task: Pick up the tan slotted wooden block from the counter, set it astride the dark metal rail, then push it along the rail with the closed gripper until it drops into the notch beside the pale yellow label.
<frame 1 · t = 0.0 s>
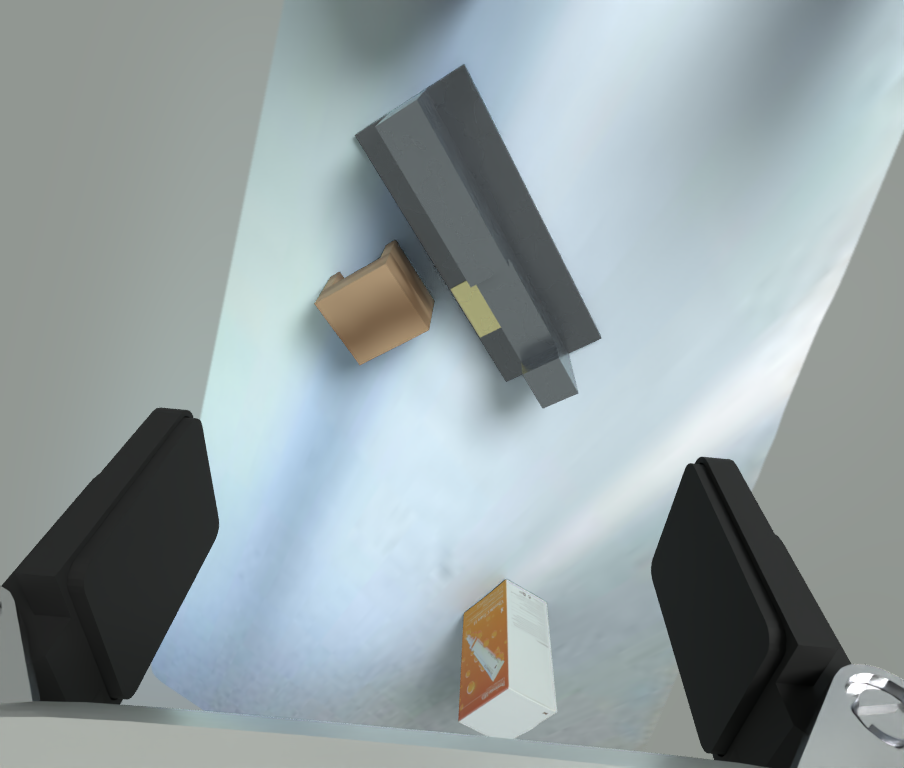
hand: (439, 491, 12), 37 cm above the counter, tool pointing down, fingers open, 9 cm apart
small box: (504, 605, 70), on the counter
notched rail: (489, 245, 47), on the counter
tan slotted wooden block: (382, 288, 50), on the counter
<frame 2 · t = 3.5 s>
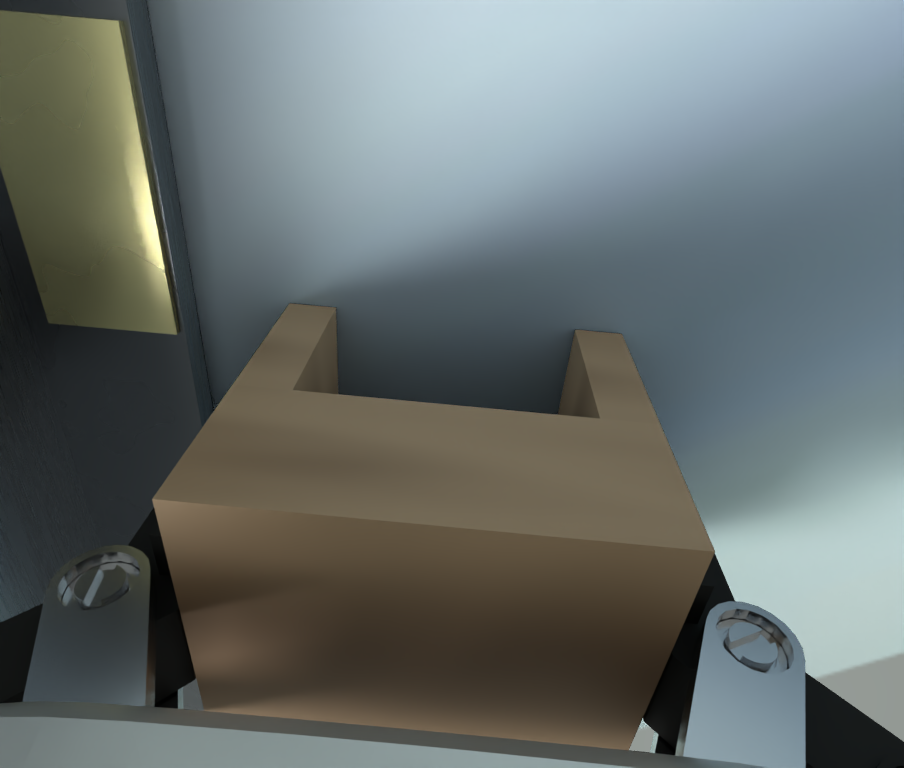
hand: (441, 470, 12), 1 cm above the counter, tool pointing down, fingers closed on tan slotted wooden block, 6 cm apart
tan slotted wooden block: (444, 443, 13), on the counter, touching gripper
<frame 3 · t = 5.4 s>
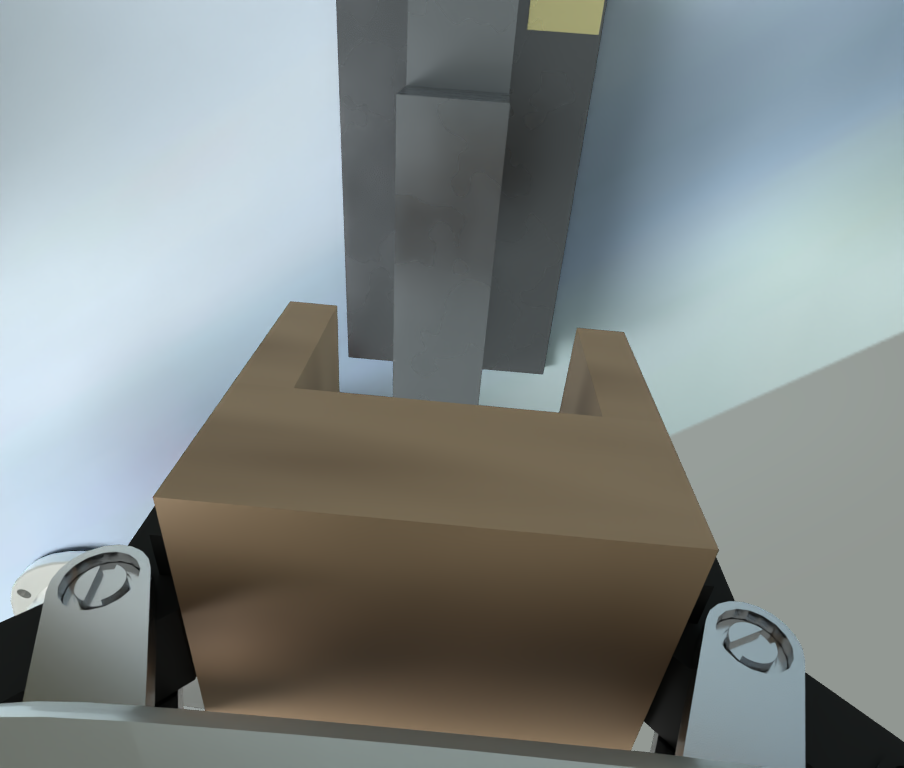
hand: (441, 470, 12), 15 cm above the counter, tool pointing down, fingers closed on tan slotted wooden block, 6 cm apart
canned food: (274, 468, 33), on the counter
notched rail: (465, 72, 22), on the counter
tan slotted wooden block: (445, 442, 13), point 14 cm above the counter, touching gripper
when the fingers open (6 cm above the counter, at t = 7.4 s): tan slotted wooden block drops 1 cm, resting on notched rail.
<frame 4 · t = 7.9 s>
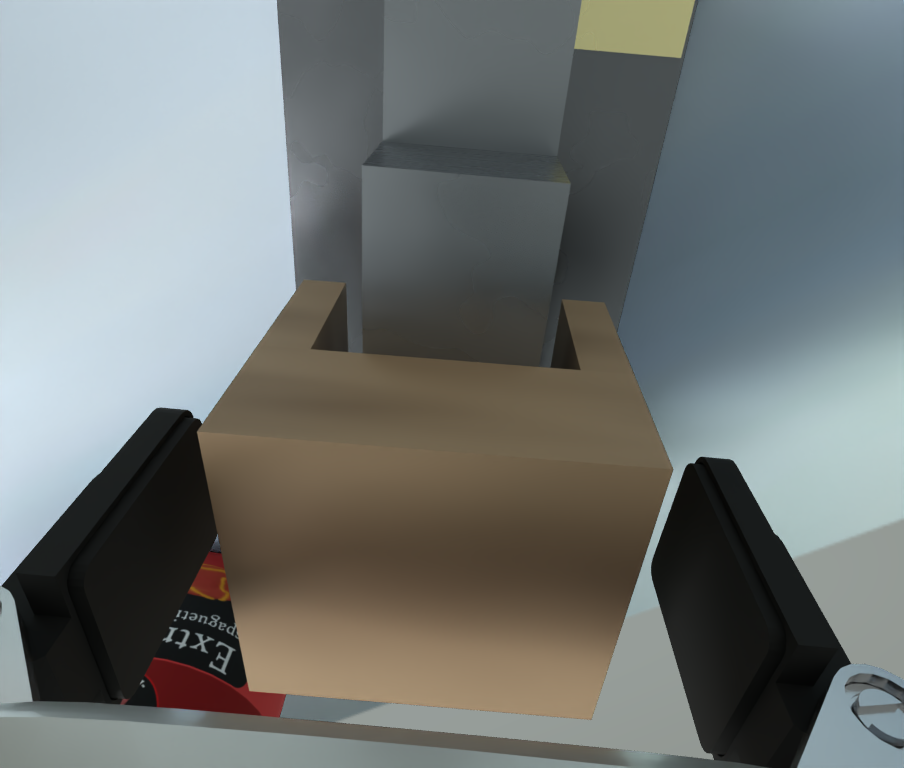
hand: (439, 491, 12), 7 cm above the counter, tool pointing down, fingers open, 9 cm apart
canned food: (217, 607, 25), on the counter
notched rail: (474, 110, 15), on the counter
tan slotted wooden block: (445, 408, 14), point 4 cm above the counter, touching notched rail
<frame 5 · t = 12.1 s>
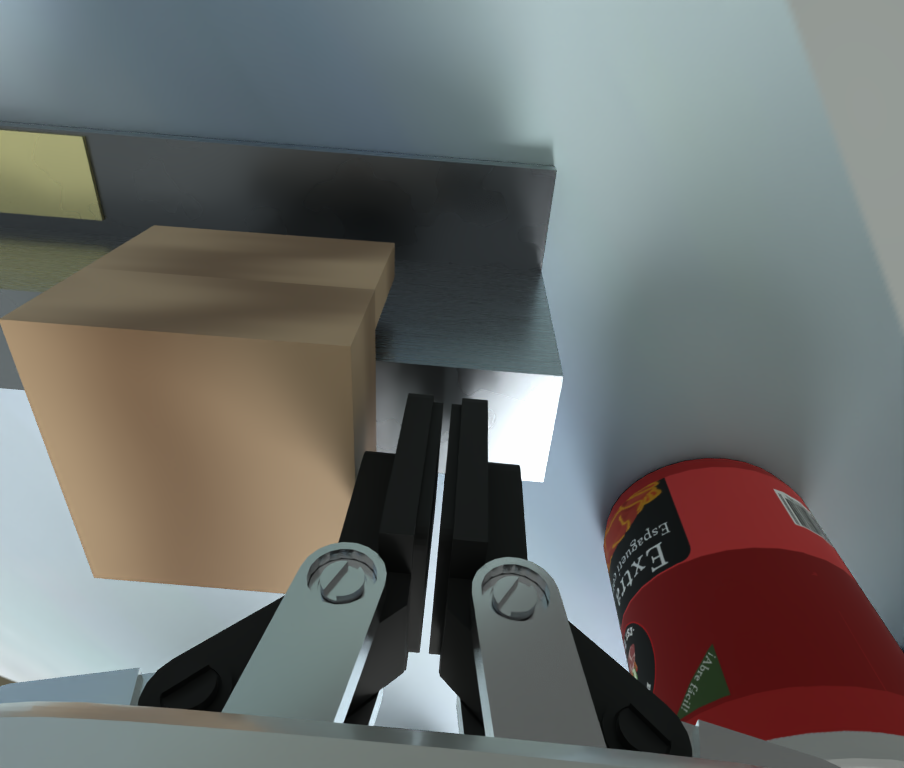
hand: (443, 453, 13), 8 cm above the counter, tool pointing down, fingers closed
canned food: (696, 522, 25), on the counter
notched rail: (173, 277, 20), on the counter
tan slotted wooden block: (285, 348, 16), point 4 cm above the counter, touching gripper, notched rail
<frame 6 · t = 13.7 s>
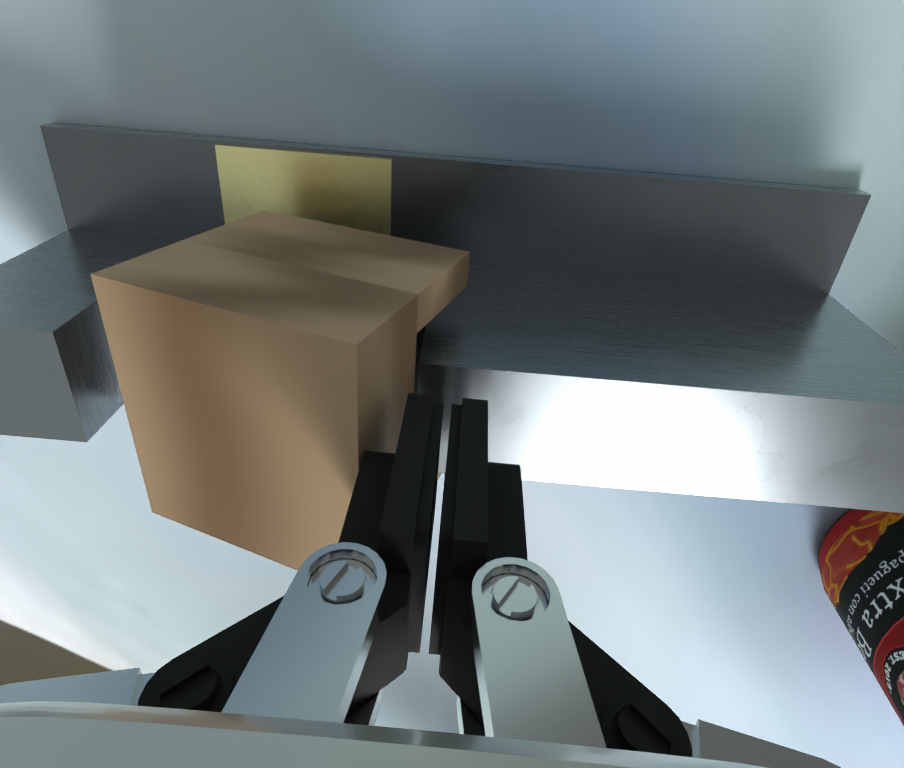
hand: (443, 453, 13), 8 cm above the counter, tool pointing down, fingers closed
notched rail: (437, 298, 20), on the counter
tan slotted wooden block: (362, 340, 17), point 3 cm above the counter, tilted 19°, touching gripper
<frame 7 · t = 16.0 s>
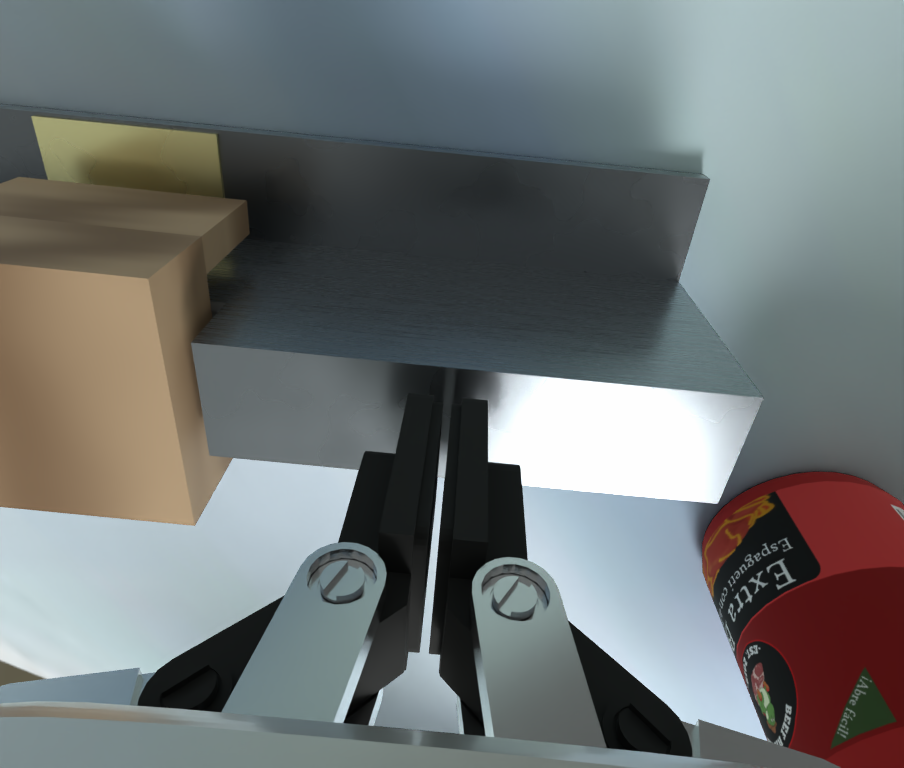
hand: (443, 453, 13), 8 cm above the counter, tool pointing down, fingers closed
canned food: (794, 534, 24), on the counter
notched rail: (288, 281, 19), on the counter
tan slotted wooden block: (154, 299, 17), point 2 cm above the counter, touching notched rail
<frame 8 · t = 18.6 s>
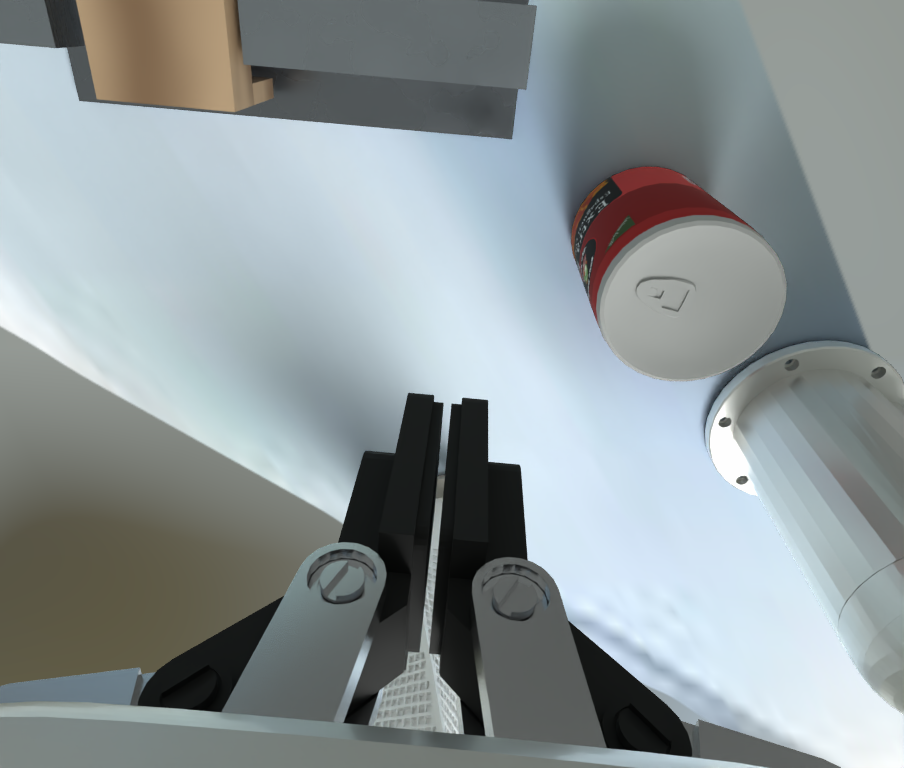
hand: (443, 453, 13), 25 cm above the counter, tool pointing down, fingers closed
canned food: (636, 229, 35), on the counter
notched rail: (288, 22, 30), on the counter
skyscraper: (439, 517, 48), on the counter
tan slotted wooden block: (206, 19, 29), point 2 cm above the counter, touching notched rail
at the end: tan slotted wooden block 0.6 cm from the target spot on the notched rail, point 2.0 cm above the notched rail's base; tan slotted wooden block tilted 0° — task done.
